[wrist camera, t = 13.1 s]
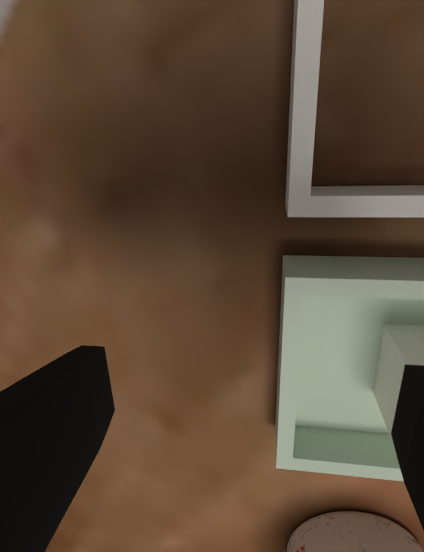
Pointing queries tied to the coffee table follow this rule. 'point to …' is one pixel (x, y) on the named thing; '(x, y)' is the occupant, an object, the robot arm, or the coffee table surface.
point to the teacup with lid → (351, 534)
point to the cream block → (396, 365)
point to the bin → (302, 132)
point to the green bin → (339, 360)
